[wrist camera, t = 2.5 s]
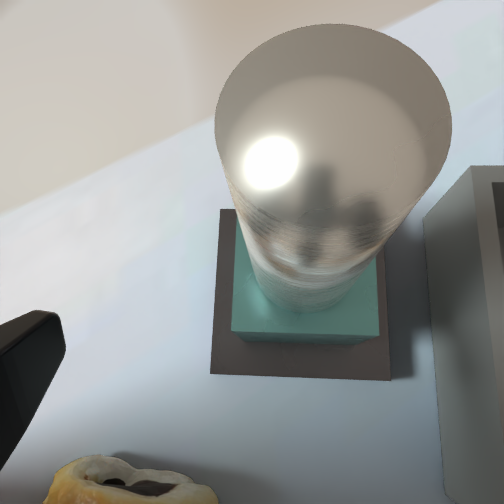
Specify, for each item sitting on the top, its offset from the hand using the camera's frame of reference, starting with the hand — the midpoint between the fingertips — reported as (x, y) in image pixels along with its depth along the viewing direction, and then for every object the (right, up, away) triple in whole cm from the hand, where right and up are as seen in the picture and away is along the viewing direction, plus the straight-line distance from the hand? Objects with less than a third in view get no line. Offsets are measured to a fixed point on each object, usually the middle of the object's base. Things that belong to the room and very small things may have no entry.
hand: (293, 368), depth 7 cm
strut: (+1, +1, +10) cm, 10 cm away
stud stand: (+1, 0, +11) cm, 11 cm away
